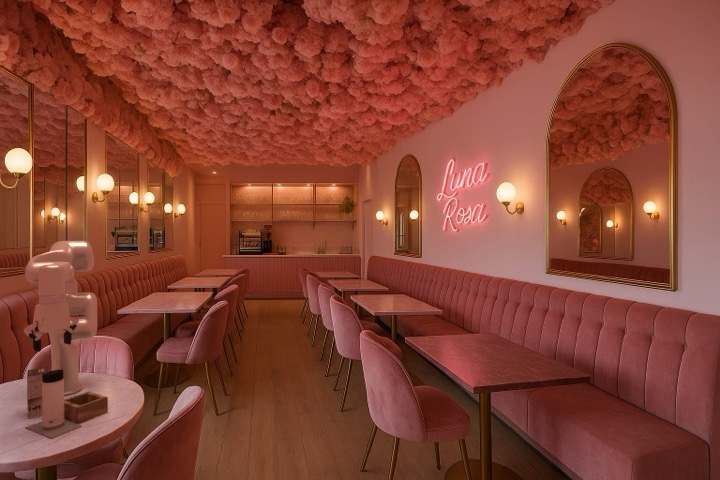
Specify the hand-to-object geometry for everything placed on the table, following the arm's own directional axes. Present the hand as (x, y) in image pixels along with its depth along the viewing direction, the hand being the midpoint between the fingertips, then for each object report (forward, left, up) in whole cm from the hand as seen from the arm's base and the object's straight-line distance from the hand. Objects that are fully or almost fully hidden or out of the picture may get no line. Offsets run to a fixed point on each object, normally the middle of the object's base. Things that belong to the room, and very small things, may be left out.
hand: (52, 347), depth 151 cm
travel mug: (0, 0, -29) cm, 29 cm away
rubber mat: (0, 0, -29) cm, 29 cm away
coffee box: (-18, +4, -29) cm, 34 cm away
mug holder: (-1, +11, -29) cm, 31 cm away
